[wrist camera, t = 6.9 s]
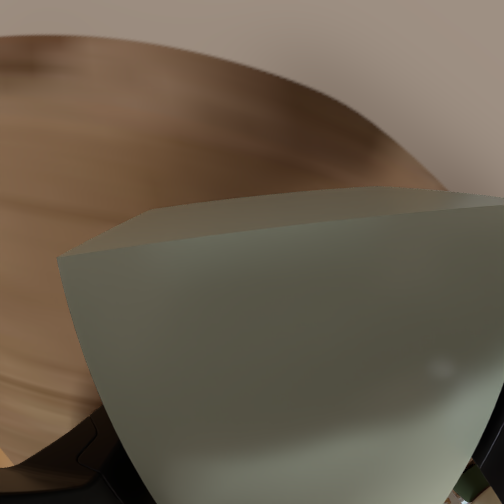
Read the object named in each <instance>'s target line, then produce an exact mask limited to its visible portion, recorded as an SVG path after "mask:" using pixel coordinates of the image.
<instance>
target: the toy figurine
mask: <svg viewBox="0 0 504 504" xmlns="http://www.w3.org/2000/svg"><path fill="white" fill-rule="evenodd" d="M453 490H454V491H455V492H456V493H457V494H458V495H460V496H461V497H462V498H463V499H464V500H465V501H466V502H472V503H471V504H502V503H501V502H500V500H499V498H498V497H497V495H496V494H495V492H494V491H493V489H492V487H491V486H490V484H489V483H488V481H487V480H486V478H485V477H484V475H483V474H482V472H481V471H480V468H479V467H478V466H477V464H475V465H474V466H473V467H472V468H470V469H467V470H466V472H465V473H464V474H462V475H461V476H460V478H459V479H458V481H457V483H456V484H455V486H454V488H453Z"/></svg>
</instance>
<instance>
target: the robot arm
mask: <svg viewBox="0 0 504 504" xmlns="http://www.w3.org/2000/svg"><path fill="white" fill-rule="evenodd" d="M471 457H472V458H473V460H474V461H475V463H476V464H477V466H478V467H479V468H480V471H481V472H482V474H483V475H484V477H485V478H486V480H487V481H488V483H489V484H490V486H491V487H492V489H493V491H494V492H495V494H496V495H497V497H498V498H499V500H500V502H501V503H502V504H504V383H503V386H502V388H501V391H500V394H499V396H498V399H497V402H496V404H495V407H494V409H493V412H492V414H491V416H490V419H489V421H488V423H487V425H486V428H485V430H484V432H483V434H482V436H481V438H480V440H479V442H478V444H477V446H476V448H475V450H474V452H473V454H472V456H471ZM0 504H157V503H156V502H155V500H154V498H153V497H152V495H151V494H150V492H149V491H148V489H147V487H146V486H145V484H144V482H143V481H142V479H141V477H140V476H139V474H138V472H137V470H136V469H135V467H134V465H133V463H132V462H131V460H130V458H129V456H128V454H127V452H126V450H125V449H124V447H123V445H122V443H121V441H120V439H119V437H118V435H117V433H116V431H115V429H114V427H113V424H112V422H111V420H110V418H109V416H108V414H107V412H106V409H105V407H104V405H102V406H100V407H99V408H98V409H97V410H95V411H94V412H93V413H92V414H91V415H90V417H87V418H86V419H84V420H83V421H82V422H81V423H80V424H78V425H77V426H76V427H74V428H73V429H72V430H70V431H69V432H68V433H66V434H65V435H64V436H62V437H61V438H59V439H58V440H56V441H55V442H53V443H52V444H50V445H49V446H47V447H45V448H44V449H42V450H41V451H39V452H38V453H36V454H35V455H33V456H31V457H30V458H28V459H27V460H25V461H23V462H22V463H20V464H18V465H15V466H12V467H7V468H0Z"/></svg>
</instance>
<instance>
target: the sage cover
mask: <svg viewBox="0 0 504 504" xmlns="http://www.w3.org/2000/svg"><path fill="white" fill-rule="evenodd" d="M57 262H58V267H59V271H60V275H61V280H62V284H63V288H64V292H65V296H66V299H67V303H68V307H69V310H70V314H71V317H72V320H73V324H74V327H75V330H76V333H77V336H78V339H79V342H80V345H81V348H82V351H83V354H84V357H85V360H86V362H87V365H88V368H89V371H90V373H91V376H92V378H93V381H94V383H95V386H96V388H97V391H98V393H99V395H100V398H101V400H102V402H103V405H104V407H105V409H106V412H107V414H108V416H109V418H110V420H111V422H112V424H113V427H114V429H115V431H116V433H117V435H118V437H119V439H120V441H121V443H122V445H123V447H124V449H125V450H126V452H127V454H128V456H129V458H130V460H131V462H132V463H133V465H134V467H135V469H136V470H137V472H138V474H139V476H140V477H141V479H142V481H143V482H144V484H145V486H146V487H147V489H148V491H149V492H150V494H151V495H152V497H153V498H154V500H155V502H156V503H157V504H443V503H444V502H445V500H446V499H447V497H448V496H449V494H450V492H451V491H452V489H453V488H454V486H455V484H456V483H457V481H458V479H459V478H460V476H461V474H462V473H463V471H464V469H465V467H466V465H467V464H468V462H469V460H470V458H471V456H472V454H473V452H474V450H475V448H476V446H477V444H478V442H479V440H480V438H481V436H482V434H483V432H484V430H485V428H486V425H487V423H488V421H489V419H490V416H491V414H492V412H493V409H494V407H495V404H496V402H497V399H498V396H499V394H500V391H501V388H502V386H503V383H504V198H500V197H493V196H485V195H477V194H467V193H459V192H449V191H438V190H426V189H414V188H400V187H384V186H371V187H355V188H340V189H327V190H314V191H302V192H291V193H281V194H271V195H261V196H252V197H242V198H234V199H225V200H217V201H209V202H201V203H194V204H186V205H179V206H172V207H165V208H158V209H151V210H149V211H147V212H145V213H142V214H140V215H138V216H136V217H134V218H132V219H130V220H128V221H126V222H124V223H122V224H120V225H118V226H116V227H114V228H112V229H110V230H108V231H106V232H104V233H102V234H100V235H98V236H96V237H94V238H92V239H90V240H88V241H86V242H84V243H83V244H81V245H79V246H77V247H75V248H73V249H71V250H69V251H68V252H66V253H64V254H62V255H60V256H59V257H57Z"/></svg>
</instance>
